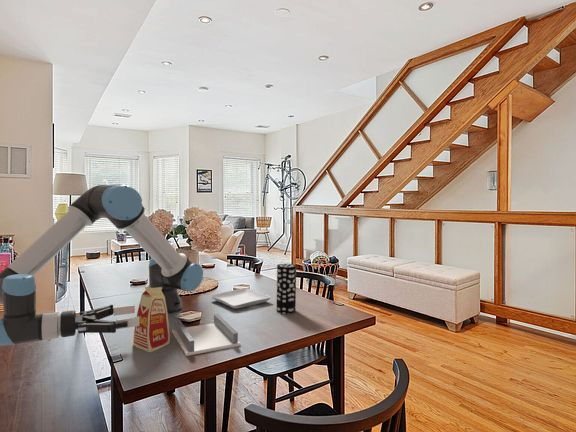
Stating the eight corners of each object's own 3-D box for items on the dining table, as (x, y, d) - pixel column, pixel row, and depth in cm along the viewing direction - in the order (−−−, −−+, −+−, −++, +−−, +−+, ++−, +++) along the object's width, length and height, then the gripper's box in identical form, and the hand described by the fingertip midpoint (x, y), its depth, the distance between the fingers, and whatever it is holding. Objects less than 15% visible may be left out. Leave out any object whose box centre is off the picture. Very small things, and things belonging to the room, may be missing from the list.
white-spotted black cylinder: (293, 314, 156) (294, 267, 155) (274, 313, 158) (275, 266, 156) (297, 308, 164) (297, 264, 163) (278, 307, 166) (279, 263, 165)
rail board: (172, 332, 134) (172, 320, 134) (220, 324, 143) (220, 313, 142) (186, 356, 115) (186, 341, 115) (240, 345, 123) (240, 332, 123)
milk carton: (149, 352, 117) (149, 290, 116) (131, 345, 122) (131, 286, 121) (172, 342, 125) (172, 284, 124) (154, 336, 130) (154, 280, 128)
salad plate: (233, 312, 158) (233, 304, 158) (209, 301, 174) (209, 294, 174) (272, 303, 172) (272, 296, 172) (246, 294, 188) (246, 287, 188)
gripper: (63, 323, 121) (133, 314, 131) (57, 353, 99) (141, 339, 109) (62, 301, 121) (132, 293, 131) (56, 325, 99) (141, 314, 109)
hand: (136, 314), depth 120 cm, fingers open, 13 cm apart
